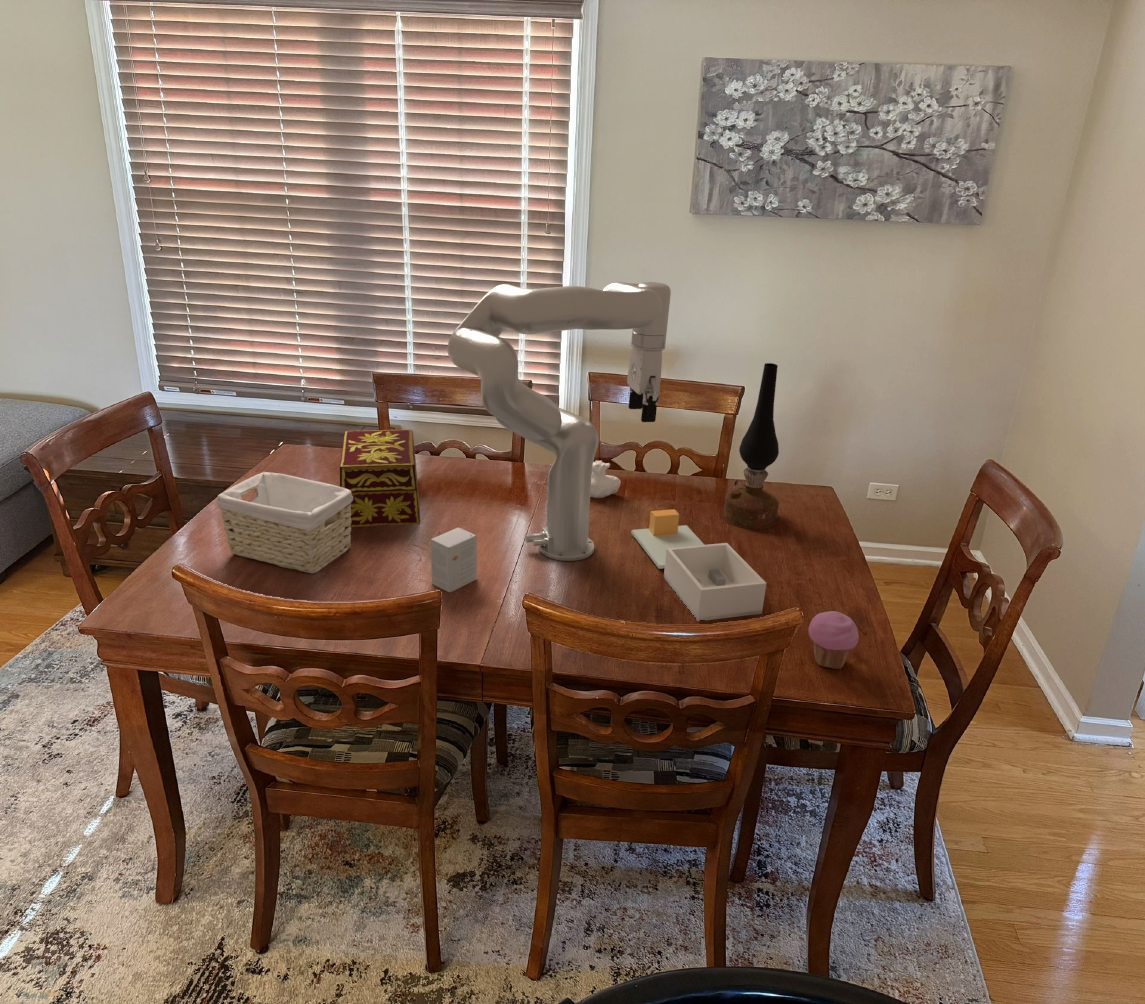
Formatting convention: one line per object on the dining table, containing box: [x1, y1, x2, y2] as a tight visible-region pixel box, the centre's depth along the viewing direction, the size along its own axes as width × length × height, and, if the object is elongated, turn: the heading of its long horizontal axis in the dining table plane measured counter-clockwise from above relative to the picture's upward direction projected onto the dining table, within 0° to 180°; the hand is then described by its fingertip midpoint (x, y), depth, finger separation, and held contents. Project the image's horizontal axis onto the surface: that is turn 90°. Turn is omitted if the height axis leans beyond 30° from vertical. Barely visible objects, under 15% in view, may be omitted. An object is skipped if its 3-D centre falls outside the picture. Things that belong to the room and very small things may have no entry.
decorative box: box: [339, 429, 421, 528], centre depth 207 cm, size 28×19×15 cm
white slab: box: [631, 508, 705, 570], centre depth 191 cm, size 18×14×7 cm
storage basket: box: [216, 471, 353, 574], centre depth 180 cm, size 24×16×15 cm
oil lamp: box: [721, 362, 780, 530], centre depth 204 cm, size 14×15×40 cm
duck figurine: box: [590, 459, 622, 499], centre depth 217 cm, size 12×8×11 cm
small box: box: [430, 527, 478, 593], centre depth 172 cm, size 8×6×10 cm
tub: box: [663, 542, 767, 622], centre depth 173 cm, size 18×14×7 cm
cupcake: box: [807, 610, 860, 670], centre depth 151 cm, size 9×9×10 cm
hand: (641, 415), depth 191 cm, fingers open, 9 cm apart
